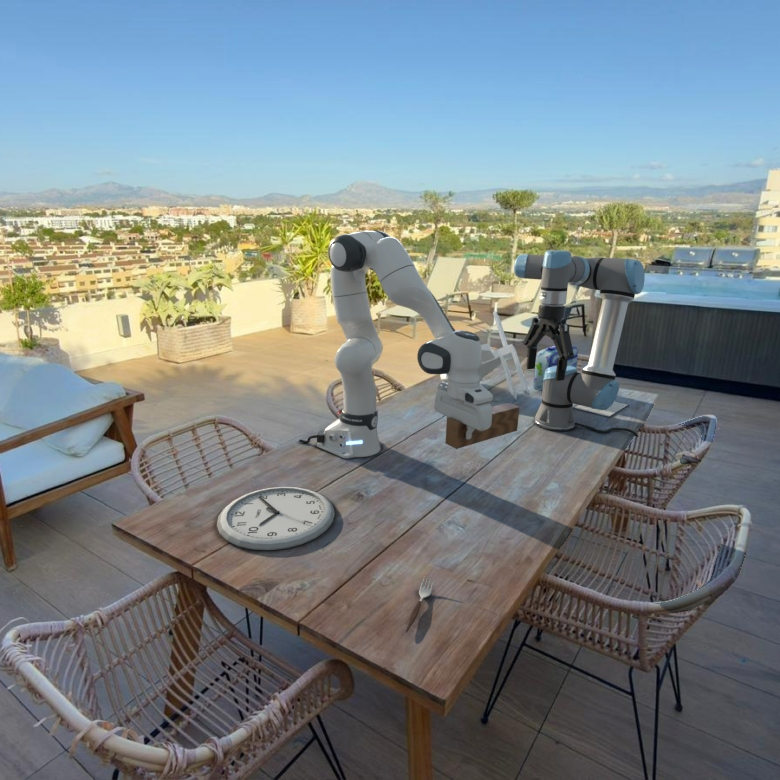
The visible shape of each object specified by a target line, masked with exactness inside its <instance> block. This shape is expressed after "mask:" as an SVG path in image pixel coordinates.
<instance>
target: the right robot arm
mask: <svg viewBox="0 0 780 780" xmlns="http://www.w3.org/2000/svg"><path fill="white" fill-rule="evenodd" d="M513 271H514V275H515V276H516V277H517V278H519V279H525V280H526V279H527V280H539V281H540V280H541V282H540V283H541V286H540V293H539V305H538V311H537V317H533V318H532V320H531V325H530V327H529V328H528V332H527V333H526V336H525V338H524V340H523V343H522V344H523V345H524V346H526V348H527V353H526V358H527V359H526V370H534V369H535V363H536V357H537V354H538V353H537V352H538V348H537V345H538V344H539V343H540V342H541V340H543V338H544V337H545V336H547V337H548V338H550V340H552V342H553V344H554V346H555V347H556V349H557V352H558V354H559V357H560V358H558V360H557V366H554V367H550V368H548V369H546V371H545V375H544V379H543V380H544V381H543V391H541V392H542V394H541V402H540V405H539V407H538V410H537V411H536V413H535V417H534V424H535V425H536V426H537V427H539V428H542V429H544V430H549V431H556V432H567V431H572V430H574V429H575V428H576V426H579V427H582V428H586V429H589V430H592V431H594V432H596V433H599V434H607V433H610V432H611V431H624V432H629V433H631V434H632V435H633V436H634V437H636V438H639V437H640V436H639V435H638V433H637V432H636V431H634V430H633V429H630V428H627V427H610V428H608V429H605V430H602V429H598V428H596V427H593V426H590V425H587V424H584V423H580V422H577V421H576V418H575V417H576V416H575V413H574V407H573V405H574V404H575V405H577V406H578V405H582V406H586V407H590V408H592V409H599V410H606V409H608V408H609V407H610V406H611V405H612V404H613V402H616V399H617V396H618V394H619V390H620V382H619V381H618V379H616V376H617V375H616V373H615V371H614V365H615V362H616V357H617V353H618V348H619V344H620V339H621V336H622V331H623V327H624V323H625V320H626V319H625V318H626V314H627V310H628V306H629V304H630V303H631V302H633V301H634V300H635V297H636V295H639V294H641V293H642V291H643V289H644V286H645V279H646V277H645V268H644V265H643V263H642V261H640V260H638V259H633V258H621V257H619V258H618V257H616V258H615V257H586V258H585V257H583V256H579V255H574V256H572V253H571V251H570V250H551V249H549V250H546V251H545V252H544V255H543V254H530V253H527V254H526V253H525V254H523V253H522V254H519V255H518V256H517V257H516V258H515V261H514V265H513ZM569 284H570V285H572V286H576V287H581V288H585V289H589V290H594V291H599V296H600V298H601V300H602V301H601V306H600V309H599V313H598V319H597V324H596V328H595V332H594V335H593V336H594V337H593V340H592V346H591V349H590V354H589V359H588V362H587V365H586V366H584V367H583V368H582V369H581V372H578V368H577V366H576V367H573V366H567V362H568V359H570V358H574V353H573V348H572V347H573V344H572V339H571V335H570V324H568V323H567V324H566V323H565V324H562V321H563V319H564V318H565V312H566V307H565V305H566V304H567V299H568V287H569ZM563 354H564V355H563Z"/></svg>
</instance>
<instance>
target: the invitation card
mask: <svg viewBox="0 0 780 780" xmlns="http://www.w3.org/2000/svg"><path fill="white" fill-rule="evenodd" d="M628 406H629V404H627V403H623V402H618V401H614V402H613V404H612V405H611V406H610V407H609V408H608V409H606V410H599V409H592V408H590V407H586V406H582V405H578V404H577V405H575V406H574V407H573V409H575V410H581V411H584V412H587V413H593V414H596V415H600V416H604V417H608V418H609V417H611V416H613V415H614V414H616V413H617V412H619V411H621V410H623V409H624V408H626V407H628Z"/></svg>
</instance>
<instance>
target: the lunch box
mask: <svg viewBox="0 0 780 780" xmlns="http://www.w3.org/2000/svg"><path fill="white" fill-rule="evenodd" d="M572 348H573V353H574V358H570V359H568V362H567V366H573V367H576V368H577V366H578V356H579V354H578V353H579V352H578V347H577V346H572ZM563 355H564V354H563ZM558 358H560V357H559V354H558V352H557V349H556V347H555V345H553V346H549V347H546V348H544V349H541V350H539V351H538V353H536V363H535V369H533V370H534V371H533V372H534V373H533V389H534V390H535V391H539V392H542V391H543V381H544V380H543V379H544V375H545V371H546V369H548V368H550V367H554V366H557V360H558Z"/></svg>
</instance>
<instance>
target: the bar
mask: <svg viewBox="0 0 780 780" xmlns="http://www.w3.org/2000/svg"><path fill="white" fill-rule="evenodd" d="M520 409H521V408H520V406H518V405H515V404H512V403H509V402H505V403H502V404H497V405H494V406H492V423H491V426H490V428H489V429H487V430H483V431H479V430H477V429H475V430H474V431H473V432H472V437H471V439H465V438H464V432H467V430H468V429H467V425H466V424H463V423H462V422H461V421H458V420H456V419H454V418H451V417H450V418H447V417H446V426H445V427H446V429H445V444H446V445H448V446H449V447H452V448H453V449H456V450H458V449H461V448H462V449H463V448H464V447H468V446H470V445H471V446H472V445H475V444H478V443H482V442H484V441H488V440H491V439H494V438H497V437H502V436H505V435H508V434H511V433H515V432H517V431H518V428H519V427H518V426H519V417H520Z"/></svg>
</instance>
